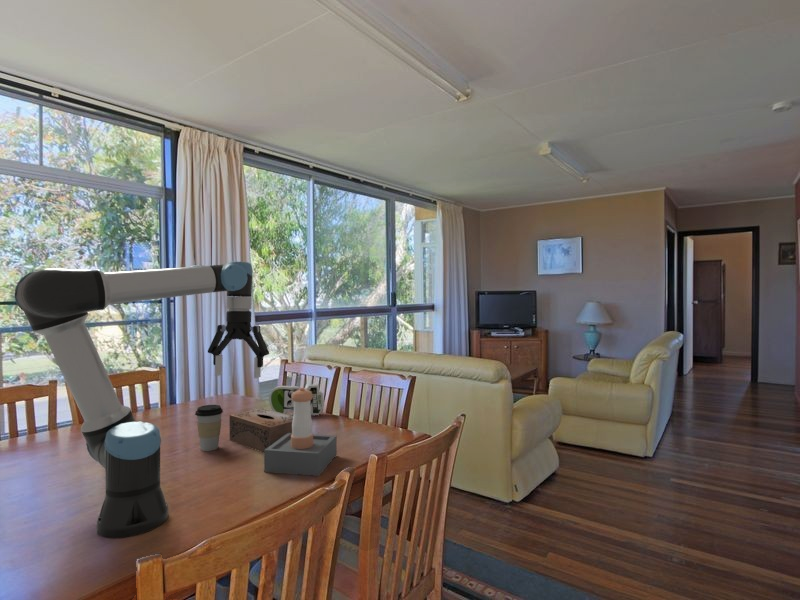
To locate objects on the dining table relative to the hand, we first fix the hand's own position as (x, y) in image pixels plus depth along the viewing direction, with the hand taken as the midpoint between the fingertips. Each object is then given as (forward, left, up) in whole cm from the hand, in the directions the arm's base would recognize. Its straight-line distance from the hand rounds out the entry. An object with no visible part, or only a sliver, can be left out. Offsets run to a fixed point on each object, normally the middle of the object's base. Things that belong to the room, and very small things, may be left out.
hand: (237, 376), depth 145 cm
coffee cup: (+17, +21, -30) cm, 40 cm away
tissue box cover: (+27, +4, -30) cm, 40 cm away
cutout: (+65, +7, -30) cm, 72 cm away
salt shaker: (+8, -18, -24) cm, 31 cm away
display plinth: (+9, -18, -30) cm, 36 cm away
